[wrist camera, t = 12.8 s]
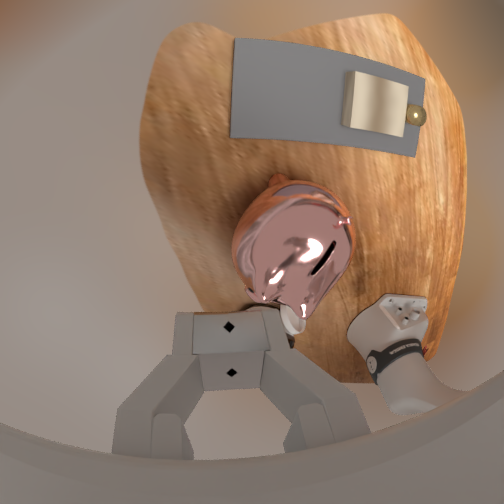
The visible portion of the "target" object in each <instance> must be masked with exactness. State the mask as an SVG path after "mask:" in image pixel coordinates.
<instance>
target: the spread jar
mask: <svg viewBox="0 0 504 504" xmlns="http://www.w3.org/2000/svg"><path fill="white" fill-rule="evenodd" d="M263 309H276V308H274V307H272V306H269V305H263V304H261V305H254V306H251V307H249V308H248V309H246V310H245V311H250V310H263ZM279 313H280V316H281V320H282V323H283V326H284V329H285V333H286V336H287V339H288V343H289V346H290V349H293V347H294V343H295V339H294V334H298V333H301V332H303V331H304V330H305V327H306V320H302V319H300V318H299V317H298V316H297V315H296V314H295V313H294V311H293V310H292V309H291V308H290V307H289V306H285V305H281V306H280V311H279Z"/></svg>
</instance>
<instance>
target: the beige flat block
mask: <svg viewBox="0 0 504 504" xmlns="http://www.w3.org/2000/svg"><path fill="white" fill-rule="evenodd" d="M408 89H409V86H406V85H403V84H400V83H397V82H394V81H390V80H387V79H384V78H380V77H377V76H373V75H369V74H365V73H361V72H357V71H351V72H346V74H345V88H344V99H343V110H342V120H341V125H344V126H347V127H351V128H357V129H363V130H368V131H374V132H379V133H384V134H389V135H394V136H398V137H403V132H404V125H405V117H406V109H407V100H408Z"/></svg>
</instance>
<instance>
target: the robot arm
mask: <svg viewBox="0 0 504 504" xmlns="http://www.w3.org/2000/svg"><path fill="white" fill-rule="evenodd" d="M426 308H427V299H426V297H421V296H408V295H397V294H385V295H383V296H382V297H381V298H380V299H379V300H378V301H377V302H376V303H375V304H374V305H372V306H370V307H369V308H367V309H366V310H364V311H363V312H362V313H360V314H359V315H358V316H357V317H356V318H355V319H354V321H353V322H352V323H351V325H350V327H349V329H348V332H347V339H348V341H349V342H350V343H351V344H352V345H353V346H354V347H355V348H356V349H357V350H358V352H359V353H360V354H361V356H362V357H363V359H364V360H365V362H366V364H367V367H368V370H369V372H370V374H371V377H372V378H373V380H374V382H375V384H376V385H378V386H379V388H380V390H381V392H382V395H383V397H384V399H385V401H386V403H387V406H388V408H389V409H390V410H391V411H392V412H393V413H395V414H398V415H409V414H415V413H421V412H423V414H421V415H419V416H416V417H414V418H412V419H409V420H406V421H404V422H401V423H399V424H396V425H393V426H390V427H388V428H385V429H382V430H379V431H376V432H373V433H371V432H370V429H369V426H368V424H367V421H366V419H365V417H364V414H363V412H362V409H361V407H360V404H359V402H358V399H357V397H356V394H355V393H353V392H352V391H350V390H349V389H348V388H347V387H345V386H344V385H342V384H341V383H340V382H339V381H337V380H336V379H335V378H333V377H332V376H331V375H329V374H328V373H327V372H325V371H324V370H323V369H321V368H320V367H319V366H317V365H316V364H315V363H313V362H312V361H311V360H310V359H308V358H307V357H306V356H304V355H303V354H302V353H301V352H299V351H298V350H297V349H290V346H289V343H288V339H287V336H286V333H285V329H284V326H283V323H282V320H281V316H280V313H279V310H278V309H263V310H250V311H232V312H194V313H193V312H177V314H176V319H175V328H174V340H173V350H172V355H166V357H165V358H164V359H163V360H162V361H161V362H160V363H159V364H158V365H157V366H156V368H155V369H154V370H153V371H152V372H151V373H150V374H149V375H148V376H147V377H146V379H144V381H143V382H142V383H141V384H140V385H139V386H138V387H137V388H136V389H135V390H134V391H133V393H132V394H131V395H130V396H129V397H128V398H127V399H126V400H125V401H124V402H123V404H121V406H120V407H119V408H118V409H117V415H116V422H115V429H114V438H113V445H112V454H111V453H105V452H99V451H93V450H89V449H83V448H79V447H74V446H70V445H66V444H62V443H59V442H55V441H51V440H48V439H44V438H41V437H38V436H35V435H32V434H29V433H26V432H23V431H20V430H18V429H15V428H12V427H10V426H7V425H5V424H2V423H0V504H504V370H503V371H502V372H500V373H499V374H497V375H496V376H494V377H492V378H491V379H489V380H487V381H486V382H484V383H482V384H481V385H479V386H477V387H476V388H474V389H472V390H470V391H462V390H456V389H453V388H450V387H448V386H447V385H445V384H444V383H442V382H441V381H440V380H439V379H438V378H437V377H436V375H435V374H434V373H433V372H432V370H431V369H430V367H429V366H428V364H427V363H426V361H425V360H424V355H425V353H426V352H427V350H428V349H427V350H426V347H427V346H425V347H424V349H423V350H422V346H421V342H422V339H423V337H424V335H425V332H426V330H427V327H428V318H427V315H426V314H425V311H426ZM425 350H426V351H425ZM250 388H260V390H261V391H262V392H263V393H264V394H265V395H266V396H267V397H268V399H270V401H271V402H272V403H273V404H274V405H275V406H276V407H277V408H278V409H279V410H280V411H281V413H282V414H283V415H284V416H285V417H286V418H287V419H288V420H289V421H290V422H291V423H292V425H291V427H290V429H289V431H288V434H287V436H286V438H285V440H284V442H283V445H284V450H285V453H283V454H276V455H268V456H260V457H250V458H239V459H223V460H194V452H193V448H192V446H191V443H190V440H189V438H188V435H187V433H186V430H185V427H184V424H185V422H186V420H187V419H188V417H189V415H190V414H191V413H192V411H193V409H194V408H195V406H196V405H197V403H198V401H199V400H200V398H201V397H202V395H203V393H204V391H214V390H228V389H250Z"/></svg>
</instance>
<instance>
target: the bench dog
mask: <svg viewBox="0 0 504 504" xmlns="http://www.w3.org/2000/svg"><path fill="white" fill-rule="evenodd" d="M425 122H426V112H425V110H424V108H423V107H421V106H419V105H413V104H407V109H406V117H405V123H408V124H411V125H415V126H422V125H424V123H425Z"/></svg>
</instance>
